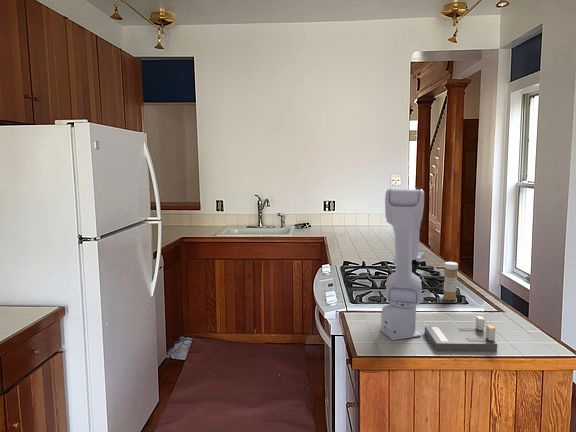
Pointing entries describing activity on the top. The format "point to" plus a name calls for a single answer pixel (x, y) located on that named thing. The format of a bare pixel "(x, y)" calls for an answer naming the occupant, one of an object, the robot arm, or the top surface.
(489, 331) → the breaker handle
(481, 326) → the handle
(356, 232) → the top surface
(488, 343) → the box
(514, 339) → the top surface
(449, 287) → the sprinkles bottle
